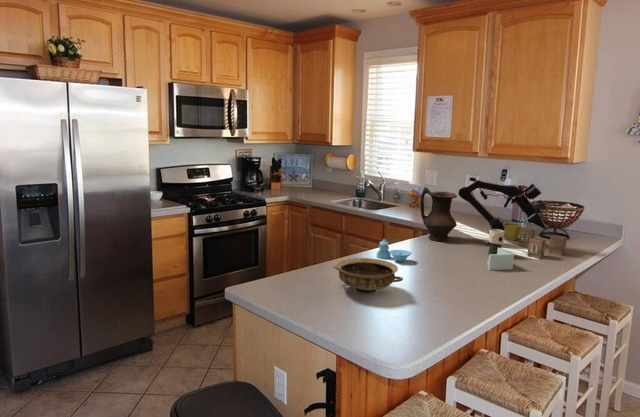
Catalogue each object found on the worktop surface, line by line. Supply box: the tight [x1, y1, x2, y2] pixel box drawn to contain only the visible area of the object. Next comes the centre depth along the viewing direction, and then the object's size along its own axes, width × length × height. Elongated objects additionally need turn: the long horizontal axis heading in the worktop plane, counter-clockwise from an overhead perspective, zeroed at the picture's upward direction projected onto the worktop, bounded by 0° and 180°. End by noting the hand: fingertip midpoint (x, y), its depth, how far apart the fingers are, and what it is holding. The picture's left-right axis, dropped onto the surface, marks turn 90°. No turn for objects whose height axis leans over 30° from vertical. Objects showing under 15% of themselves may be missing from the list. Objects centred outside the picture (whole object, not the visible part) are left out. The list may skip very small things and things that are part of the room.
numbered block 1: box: [518, 227, 536, 247], centre depth 273 cm, size 6×6×9 cm
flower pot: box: [504, 221, 522, 241], centre depth 284 cm, size 9×9×9 cm
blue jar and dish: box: [376, 238, 412, 263], centre depth 234 cm, size 18×10×9 cm, turn 49°
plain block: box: [548, 234, 568, 257], centre depth 255 cm, size 6×6×9 cm
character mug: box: [487, 228, 505, 255], centre depth 247 cm, size 11×7×13 cm, turn 140°
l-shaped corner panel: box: [486, 247, 515, 271], centre depth 229 cm, size 12×12×8 cm
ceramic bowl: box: [333, 257, 404, 295], centre depth 190 cm, size 30×24×10 cm
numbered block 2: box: [527, 237, 547, 260], centre depth 247 cm, size 6×6×9 cm
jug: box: [419, 186, 458, 243], centre depth 277 cm, size 21×18×30 cm
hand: (545, 228), depth 256 cm, fingers closed
